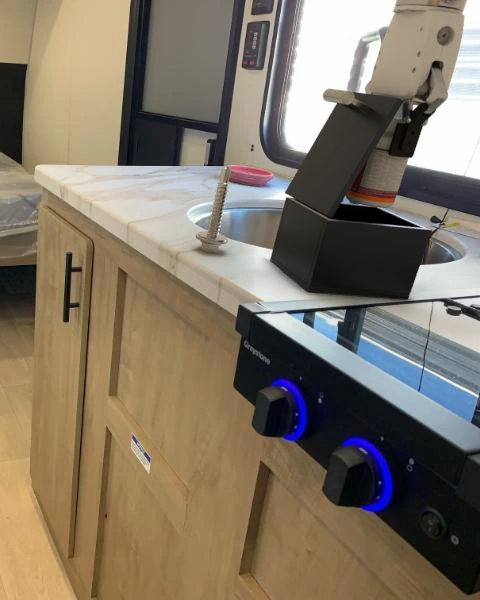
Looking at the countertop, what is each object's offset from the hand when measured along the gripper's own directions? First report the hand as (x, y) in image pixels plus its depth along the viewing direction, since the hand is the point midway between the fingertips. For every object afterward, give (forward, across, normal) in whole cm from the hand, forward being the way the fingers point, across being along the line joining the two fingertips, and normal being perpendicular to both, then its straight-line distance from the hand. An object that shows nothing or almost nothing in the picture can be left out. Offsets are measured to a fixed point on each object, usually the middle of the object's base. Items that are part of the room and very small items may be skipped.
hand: (384, 150), depth 79 cm
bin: (+18, 0, +2) cm, 18 cm away
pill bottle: (+7, 0, 0) cm, 7 cm away
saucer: (+18, +74, -14) cm, 77 cm away
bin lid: (+1, 0, +6) cm, 6 cm away
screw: (+18, +9, +18) cm, 27 cm away
